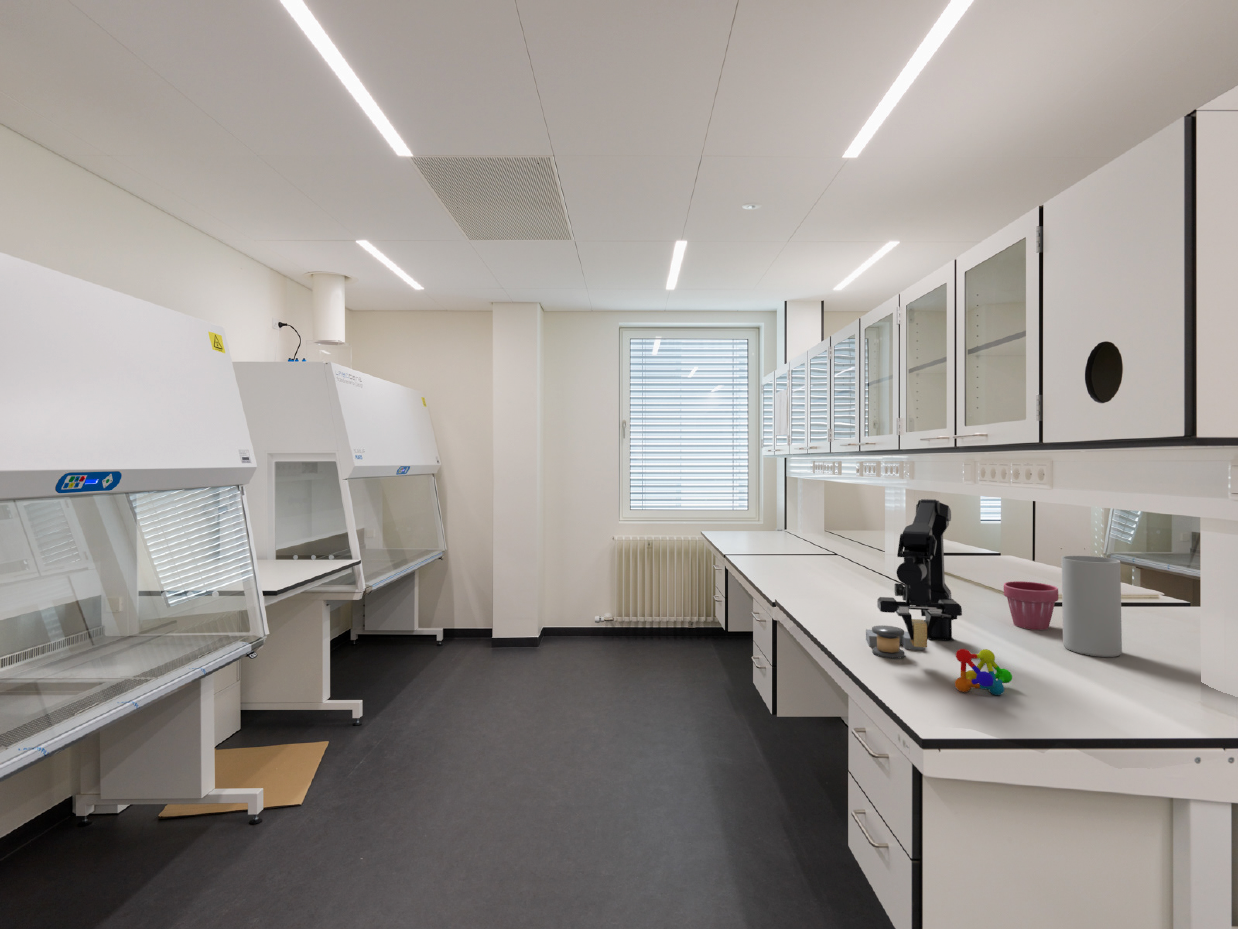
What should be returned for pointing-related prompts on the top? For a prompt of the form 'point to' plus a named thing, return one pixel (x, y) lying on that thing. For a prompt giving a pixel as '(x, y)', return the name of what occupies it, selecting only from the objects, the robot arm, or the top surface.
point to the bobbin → (888, 642)
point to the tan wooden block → (919, 633)
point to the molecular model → (981, 672)
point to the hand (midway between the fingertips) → (918, 639)
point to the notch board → (903, 640)
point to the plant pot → (1031, 603)
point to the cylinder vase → (1092, 605)
